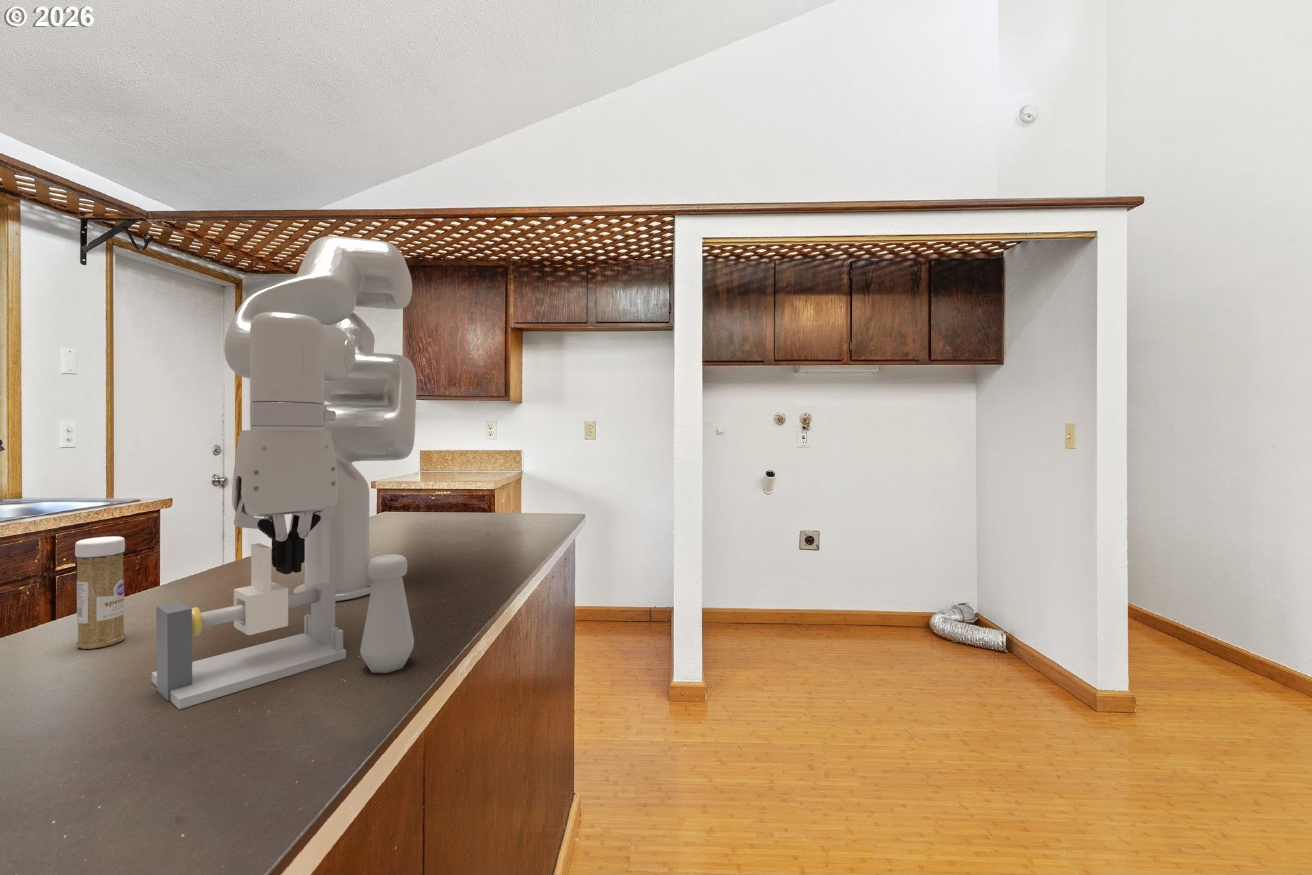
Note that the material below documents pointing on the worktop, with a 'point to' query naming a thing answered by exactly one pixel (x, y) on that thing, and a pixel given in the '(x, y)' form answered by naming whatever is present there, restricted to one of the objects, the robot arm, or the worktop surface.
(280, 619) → the square collar block
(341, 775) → the worktop surface
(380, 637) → the salt shaker
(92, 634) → the sprinkles bottle
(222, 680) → the slider rail rig
